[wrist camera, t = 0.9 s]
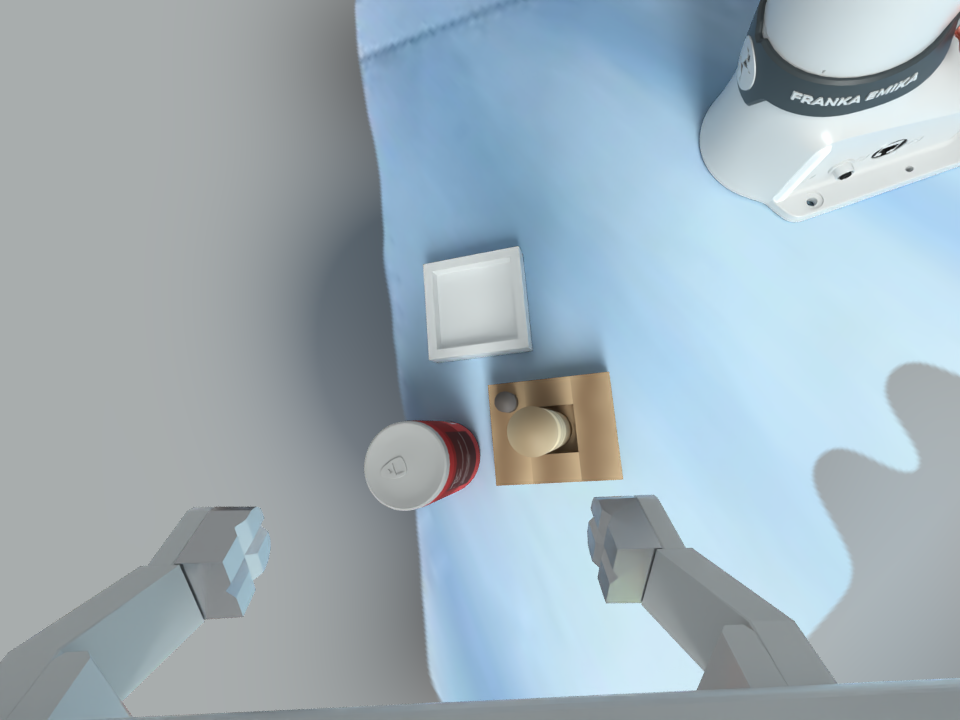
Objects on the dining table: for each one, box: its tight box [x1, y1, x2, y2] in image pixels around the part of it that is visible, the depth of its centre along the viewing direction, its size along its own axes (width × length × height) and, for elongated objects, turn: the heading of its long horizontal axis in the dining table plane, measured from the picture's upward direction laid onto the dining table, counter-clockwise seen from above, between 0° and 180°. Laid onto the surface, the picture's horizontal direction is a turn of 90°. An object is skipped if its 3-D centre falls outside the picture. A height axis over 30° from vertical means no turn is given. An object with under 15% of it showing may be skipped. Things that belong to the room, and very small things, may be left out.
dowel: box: [507, 406, 572, 457], centre depth 38 cm, size 4×4×14 cm
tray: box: [423, 246, 533, 363], centre depth 49 cm, size 11×11×2 cm
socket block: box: [488, 372, 623, 486], centre depth 43 cm, size 12×10×5 cm
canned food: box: [364, 420, 480, 511], centre depth 43 cm, size 8×8×11 cm
